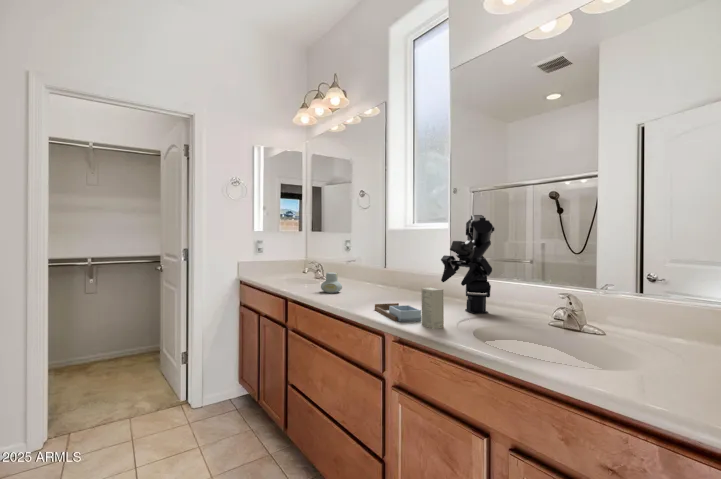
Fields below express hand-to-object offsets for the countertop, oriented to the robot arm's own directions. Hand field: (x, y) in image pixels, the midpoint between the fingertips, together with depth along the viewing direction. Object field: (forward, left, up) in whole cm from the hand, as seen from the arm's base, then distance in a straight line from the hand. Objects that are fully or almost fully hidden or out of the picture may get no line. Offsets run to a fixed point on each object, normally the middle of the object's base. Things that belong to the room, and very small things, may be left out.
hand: (451, 283), depth 116 cm
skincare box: (+8, +2, -14) cm, 16 cm away
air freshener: (+23, -75, -14) cm, 80 cm away
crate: (+12, -10, -13) cm, 21 cm away
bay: (+12, -17, -14) cm, 25 cm away
